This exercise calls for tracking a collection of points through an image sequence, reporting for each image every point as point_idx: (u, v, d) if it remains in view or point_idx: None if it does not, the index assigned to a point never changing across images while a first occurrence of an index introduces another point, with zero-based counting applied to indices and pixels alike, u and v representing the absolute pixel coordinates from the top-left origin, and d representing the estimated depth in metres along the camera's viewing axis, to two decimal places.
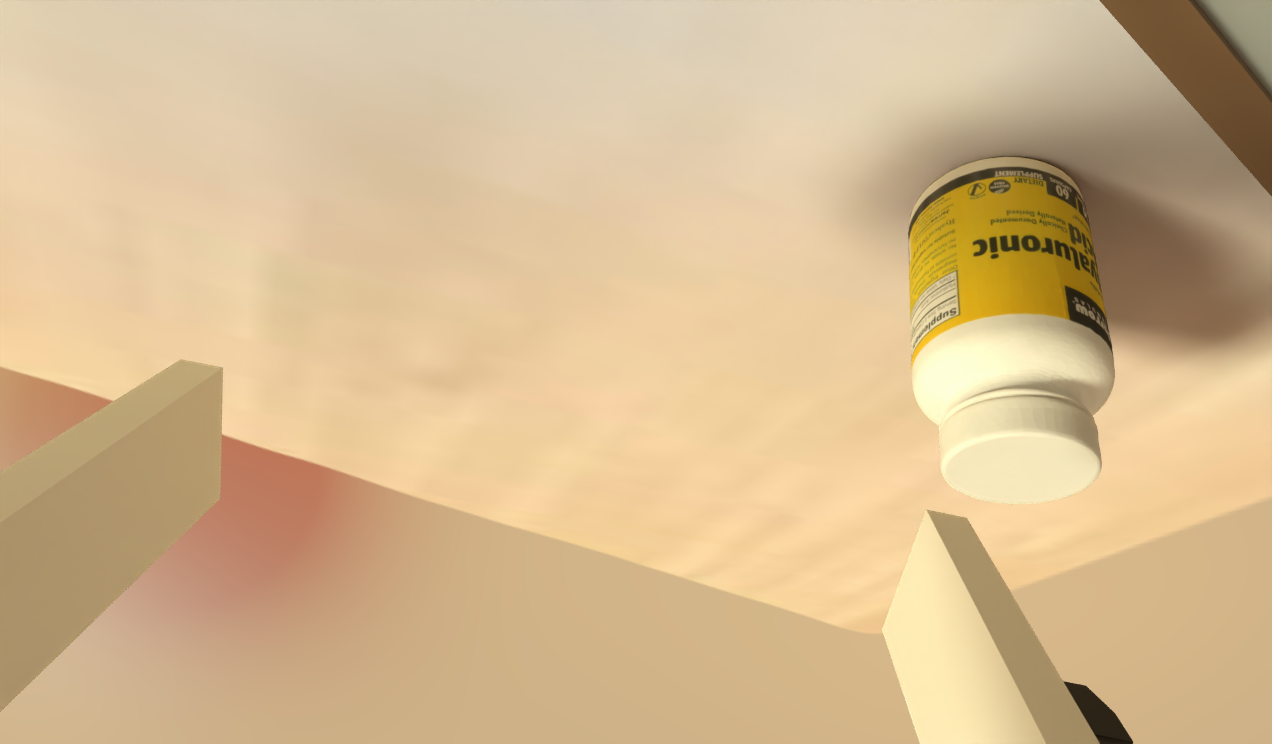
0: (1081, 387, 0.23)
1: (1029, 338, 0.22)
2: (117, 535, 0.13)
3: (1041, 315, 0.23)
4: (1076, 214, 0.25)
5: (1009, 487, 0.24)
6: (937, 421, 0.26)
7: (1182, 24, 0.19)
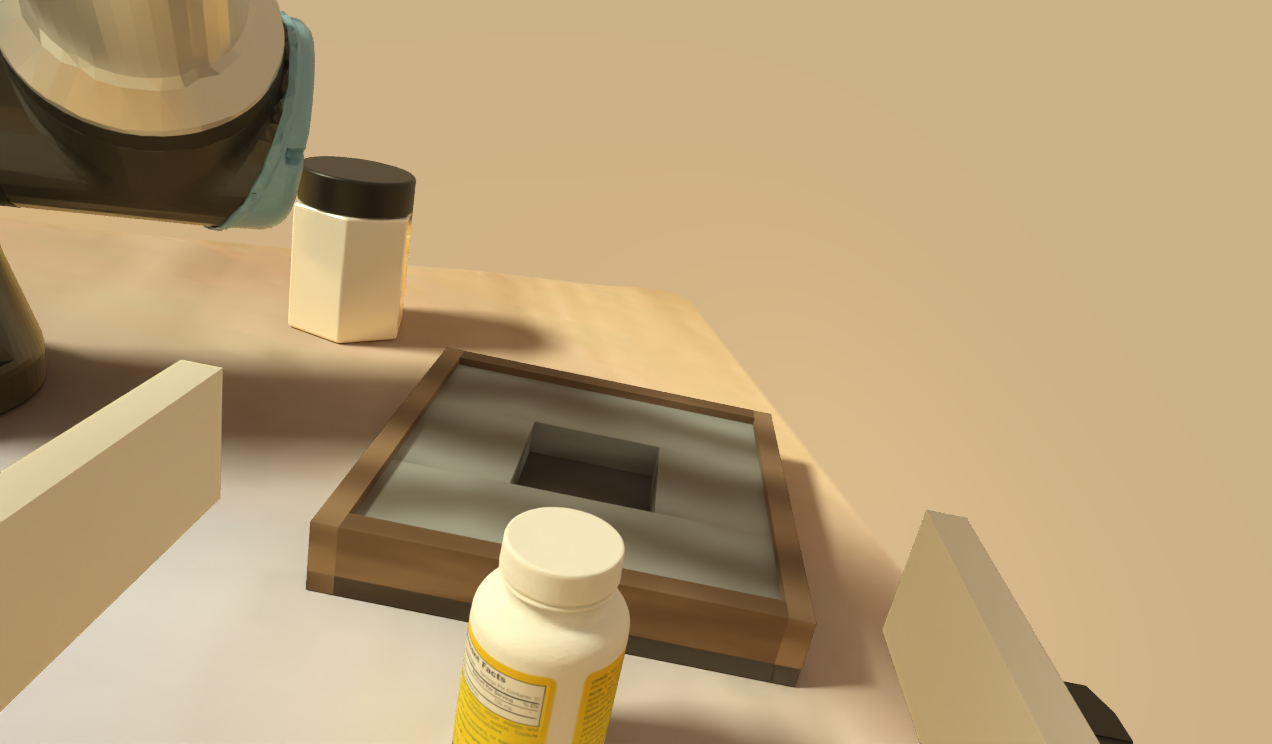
0: None
1: None
2: (117, 535, 0.13)
3: None
4: None
5: (582, 554, 0.27)
6: (531, 634, 0.27)
7: (449, 537, 0.37)
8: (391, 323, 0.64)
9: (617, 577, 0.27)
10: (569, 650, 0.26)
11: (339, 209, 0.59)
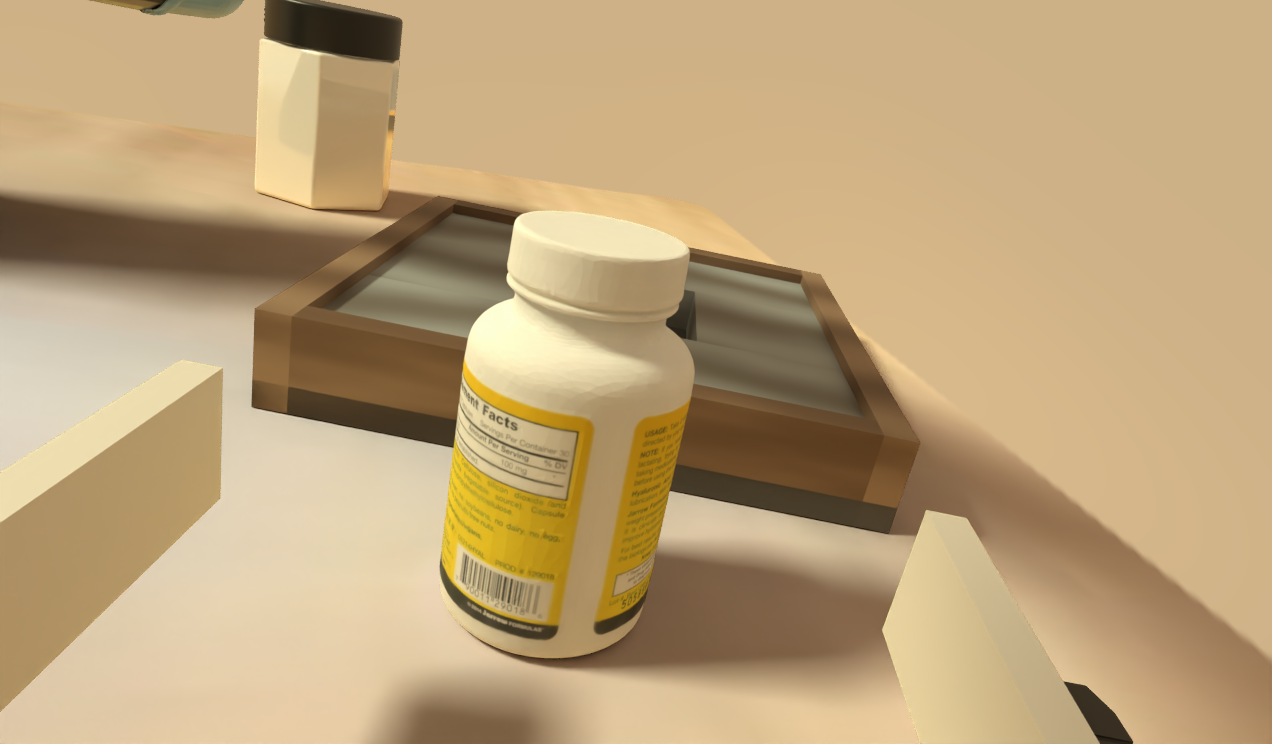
0: None
1: None
2: (117, 535, 0.13)
3: None
4: None
5: (629, 245, 0.18)
6: (555, 353, 0.18)
7: (438, 335, 0.28)
8: (375, 190, 0.56)
9: (680, 283, 0.19)
10: (613, 376, 0.18)
11: (312, 42, 0.50)
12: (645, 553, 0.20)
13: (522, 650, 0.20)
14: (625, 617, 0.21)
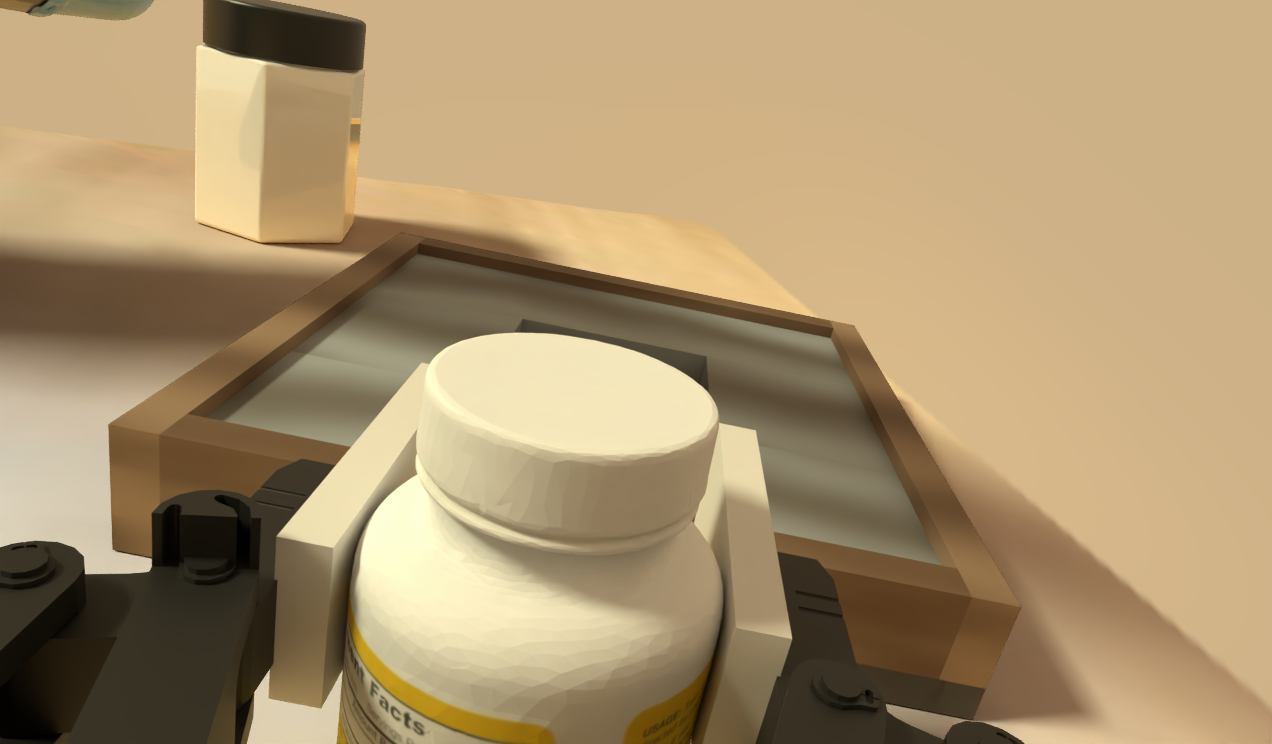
0: None
1: None
2: None
3: None
4: None
5: (619, 414, 0.11)
6: (489, 610, 0.10)
7: None
8: (334, 220, 0.48)
9: (704, 473, 0.11)
10: (588, 652, 0.10)
11: (256, 50, 0.43)
12: None
13: None
14: None
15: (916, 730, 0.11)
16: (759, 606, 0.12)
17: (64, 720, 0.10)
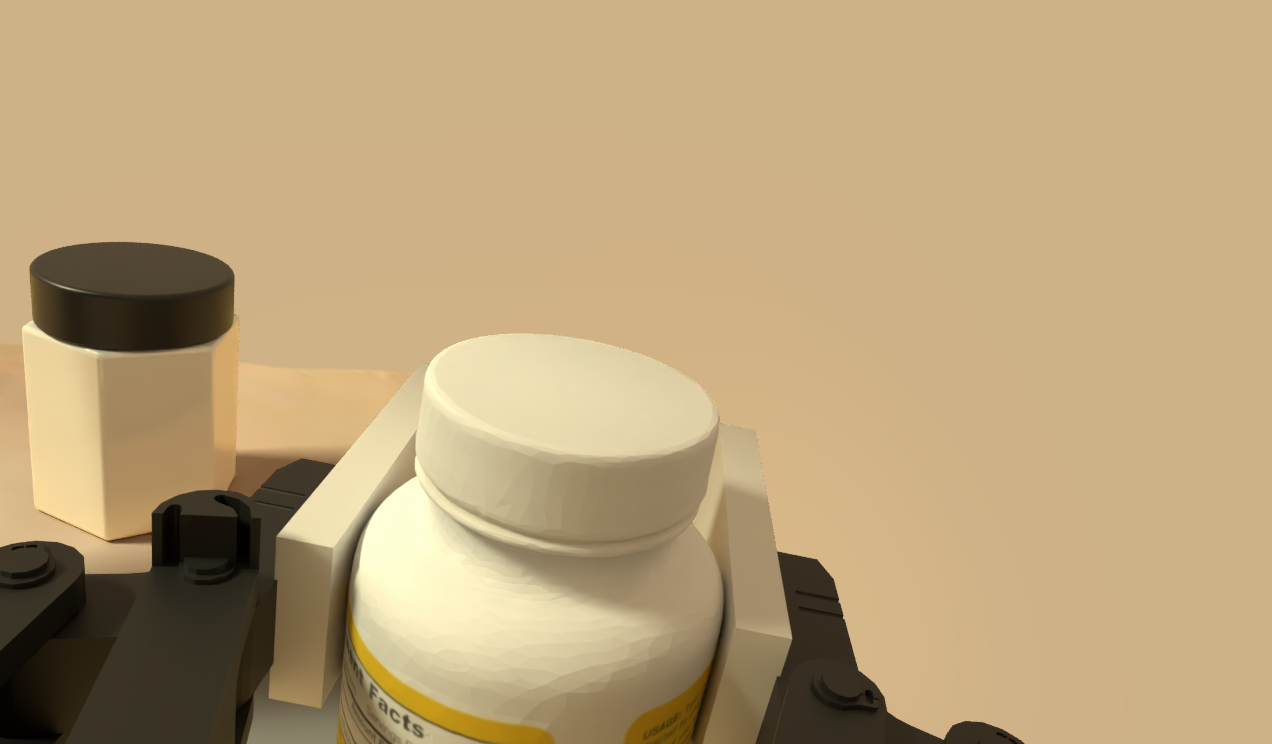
0: None
1: None
2: None
3: None
4: None
5: (619, 415, 0.11)
6: (488, 612, 0.10)
7: None
8: None
9: (705, 475, 0.11)
10: (587, 654, 0.10)
11: (88, 339, 0.36)
12: None
13: None
14: None
15: (916, 730, 0.11)
16: (759, 606, 0.12)
17: (64, 720, 0.10)
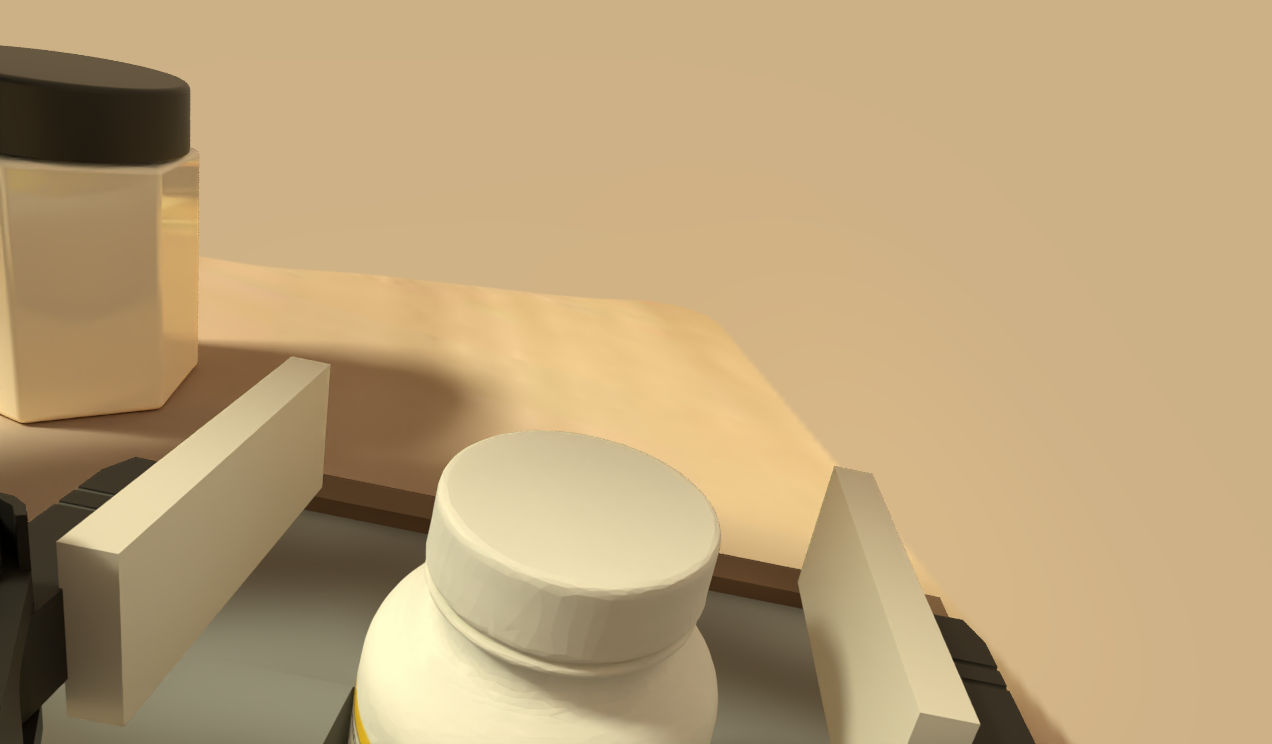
0: None
1: None
2: (251, 518, 0.14)
3: None
4: None
5: (625, 536, 0.11)
6: (493, 728, 0.11)
7: None
8: (147, 379, 0.32)
9: (705, 592, 0.12)
10: None
11: None
12: None
13: None
14: None
15: None
16: (936, 685, 0.11)
17: None
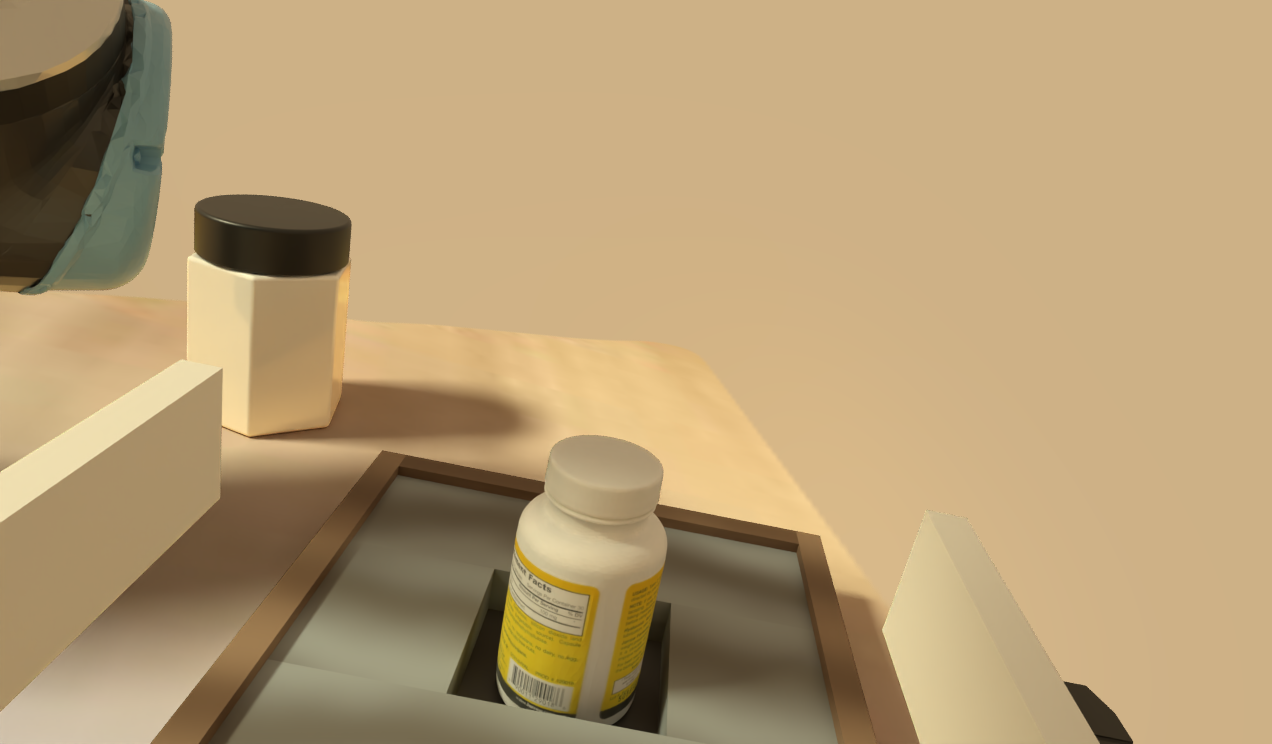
0: None
1: None
2: (117, 535, 0.13)
3: None
4: None
5: (623, 472, 0.29)
6: (575, 545, 0.28)
7: None
8: (321, 407, 0.50)
9: (656, 495, 0.29)
10: (612, 560, 0.28)
11: (244, 265, 0.45)
12: (634, 665, 0.31)
13: None
14: (620, 706, 0.31)
15: None
16: None
17: None
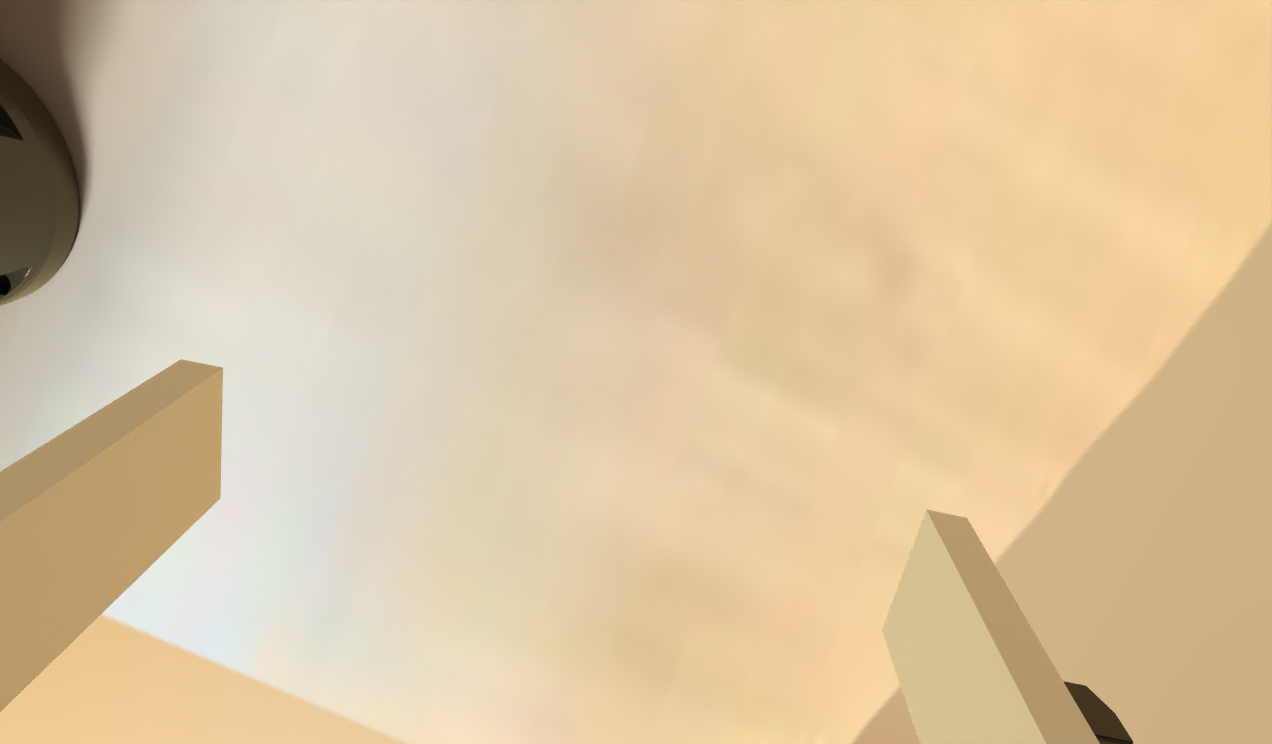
0: None
1: None
2: (117, 535, 0.13)
3: None
4: None
5: None
6: None
7: None
8: None
9: None
10: None
11: None
12: None
13: None
14: None
15: None
16: None
17: None
